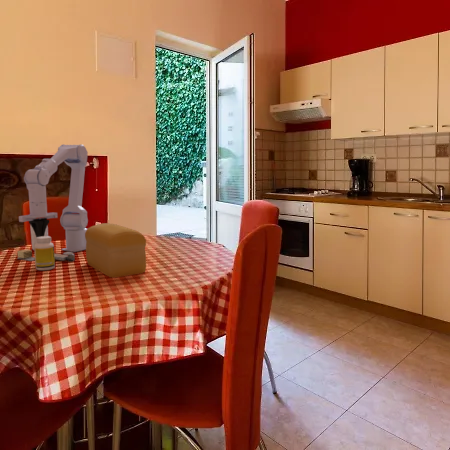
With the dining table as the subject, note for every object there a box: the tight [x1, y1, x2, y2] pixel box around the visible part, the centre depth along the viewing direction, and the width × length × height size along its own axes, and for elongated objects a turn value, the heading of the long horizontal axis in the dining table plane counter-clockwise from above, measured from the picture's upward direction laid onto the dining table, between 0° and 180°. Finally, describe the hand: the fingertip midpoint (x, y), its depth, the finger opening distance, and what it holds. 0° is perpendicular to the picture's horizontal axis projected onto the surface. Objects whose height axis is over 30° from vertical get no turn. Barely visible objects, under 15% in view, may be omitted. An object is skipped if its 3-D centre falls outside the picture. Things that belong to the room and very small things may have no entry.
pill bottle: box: [33, 235, 56, 271], centre depth 136 cm, size 6×6×11 cm
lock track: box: [17, 256, 35, 262], centre depth 151 cm, size 4×8×1 cm, turn 62°
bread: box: [85, 222, 147, 279], centre depth 138 cm, size 24×13×15 cm, turn 37°
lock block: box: [17, 248, 33, 258], centre depth 152 cm, size 4×4×2 cm
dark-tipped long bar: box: [54, 252, 76, 263], centre depth 153 cm, size 3×18×2 cm, turn 61°
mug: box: [29, 224, 49, 251], centre depth 171 cm, size 10×7×12 cm, turn 4°
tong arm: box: [33, 251, 74, 262], centre depth 151 cm, size 3×17×3 cm, turn 64°
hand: (40, 239), depth 146 cm, fingers closed
